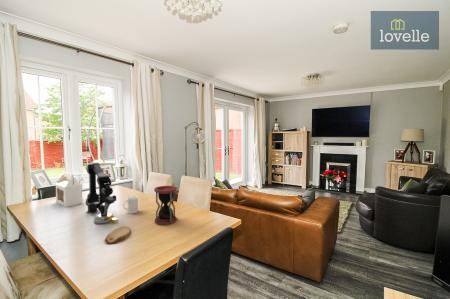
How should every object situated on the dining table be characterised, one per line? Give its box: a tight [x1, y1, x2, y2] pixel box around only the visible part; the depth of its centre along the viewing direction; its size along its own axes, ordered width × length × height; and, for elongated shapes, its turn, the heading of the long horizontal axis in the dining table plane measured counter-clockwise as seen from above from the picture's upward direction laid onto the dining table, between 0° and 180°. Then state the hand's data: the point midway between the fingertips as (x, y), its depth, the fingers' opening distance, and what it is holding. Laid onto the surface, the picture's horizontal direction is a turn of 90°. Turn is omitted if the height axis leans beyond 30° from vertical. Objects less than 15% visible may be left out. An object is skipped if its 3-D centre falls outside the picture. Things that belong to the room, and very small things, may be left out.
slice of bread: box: [104, 225, 132, 246], centre depth 137 cm, size 18×18×4 cm
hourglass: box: [154, 185, 178, 226], centre depth 161 cm, size 16×16×25 cm
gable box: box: [55, 171, 83, 208], centre depth 199 cm, size 22×13×28 cm, turn 55°
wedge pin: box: [100, 203, 108, 216], centre depth 160 cm, size 4×4×9 cm
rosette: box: [93, 212, 119, 225], centre depth 160 cm, size 18×13×4 cm
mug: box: [122, 195, 139, 214], centre depth 179 cm, size 12×8×12 cm
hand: (104, 213), depth 160 cm, fingers closed on wedge pin, 3 cm apart
